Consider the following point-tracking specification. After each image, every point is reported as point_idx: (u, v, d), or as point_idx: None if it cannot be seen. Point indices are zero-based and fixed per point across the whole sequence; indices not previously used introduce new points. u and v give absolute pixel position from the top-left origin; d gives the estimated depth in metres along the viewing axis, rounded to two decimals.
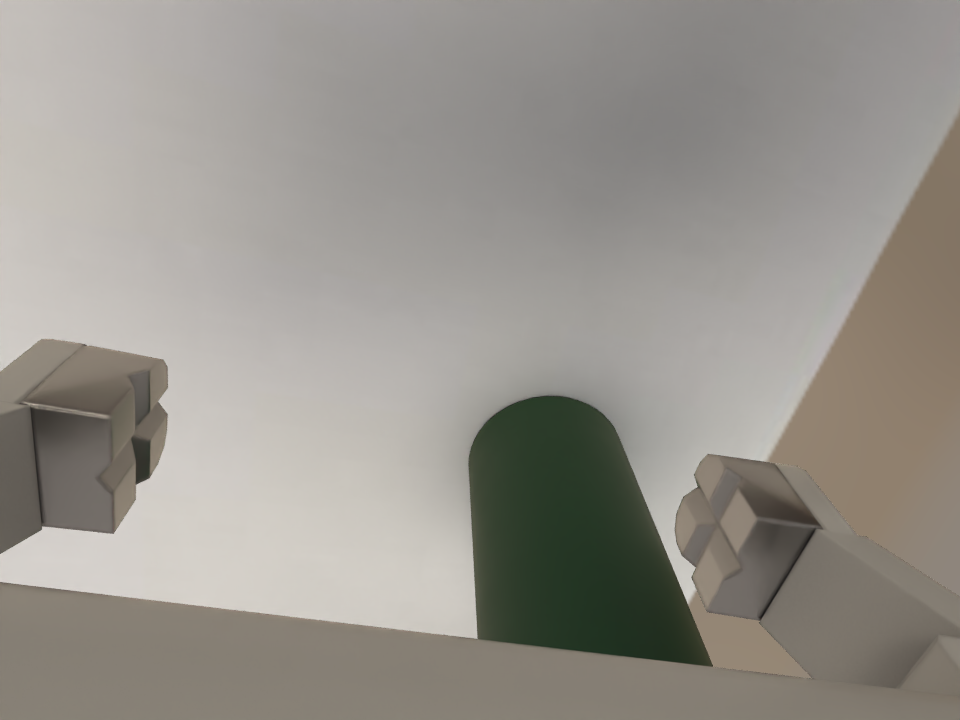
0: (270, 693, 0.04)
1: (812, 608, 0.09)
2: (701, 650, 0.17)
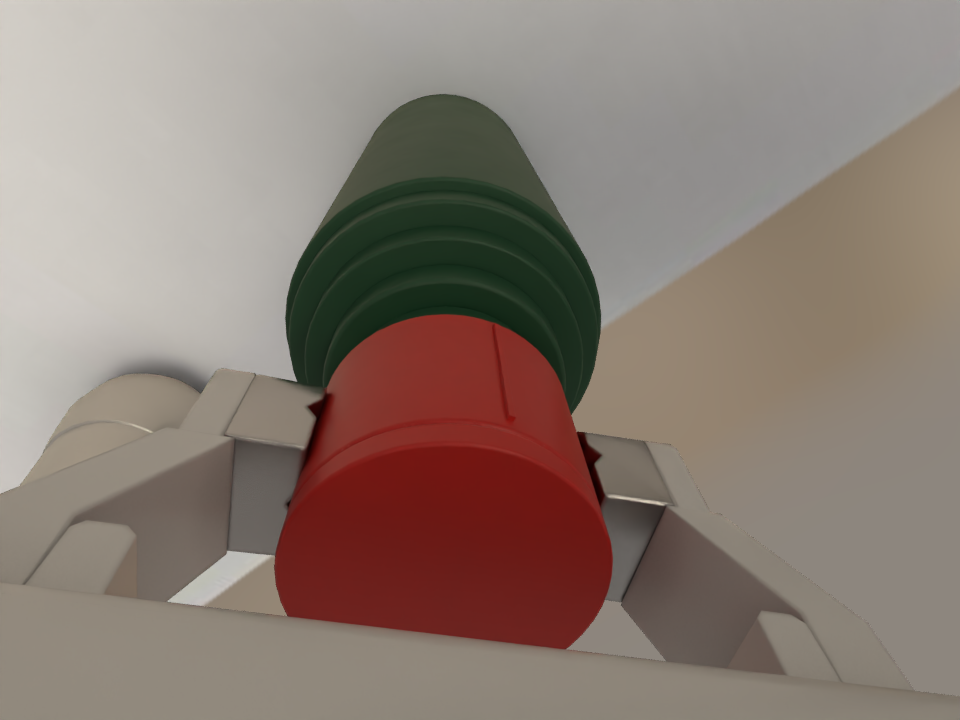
0: (270, 693, 0.04)
1: (665, 588, 0.08)
2: None
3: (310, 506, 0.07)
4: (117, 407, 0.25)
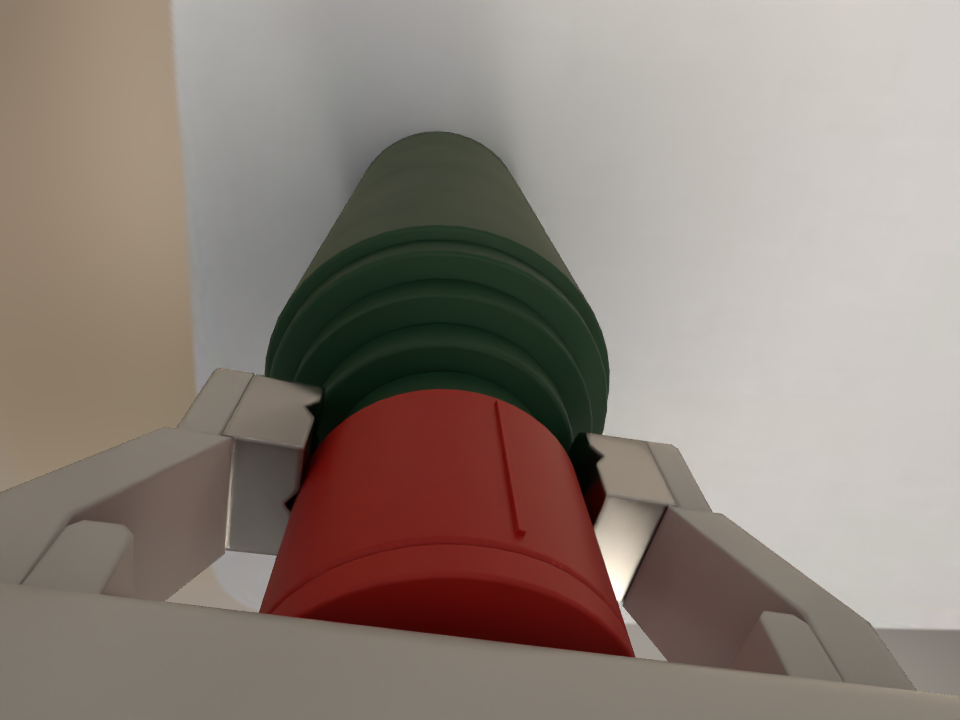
0: (270, 693, 0.04)
1: (666, 588, 0.08)
2: None
3: None
4: None
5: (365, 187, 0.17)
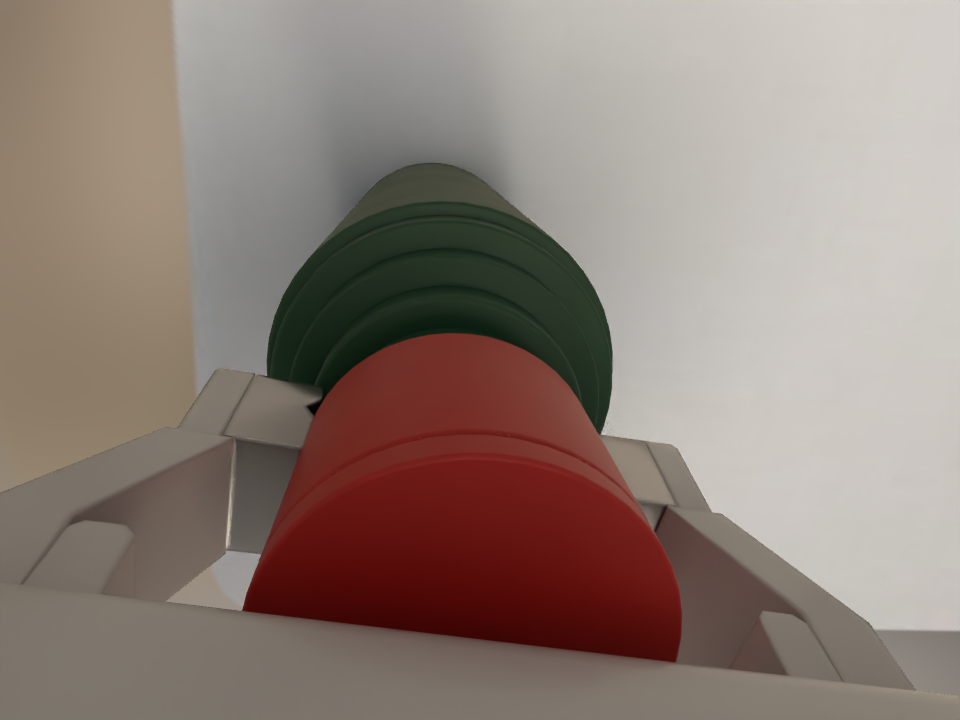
0: (270, 693, 0.04)
1: None
2: None
3: None
4: None
5: (364, 199, 0.17)
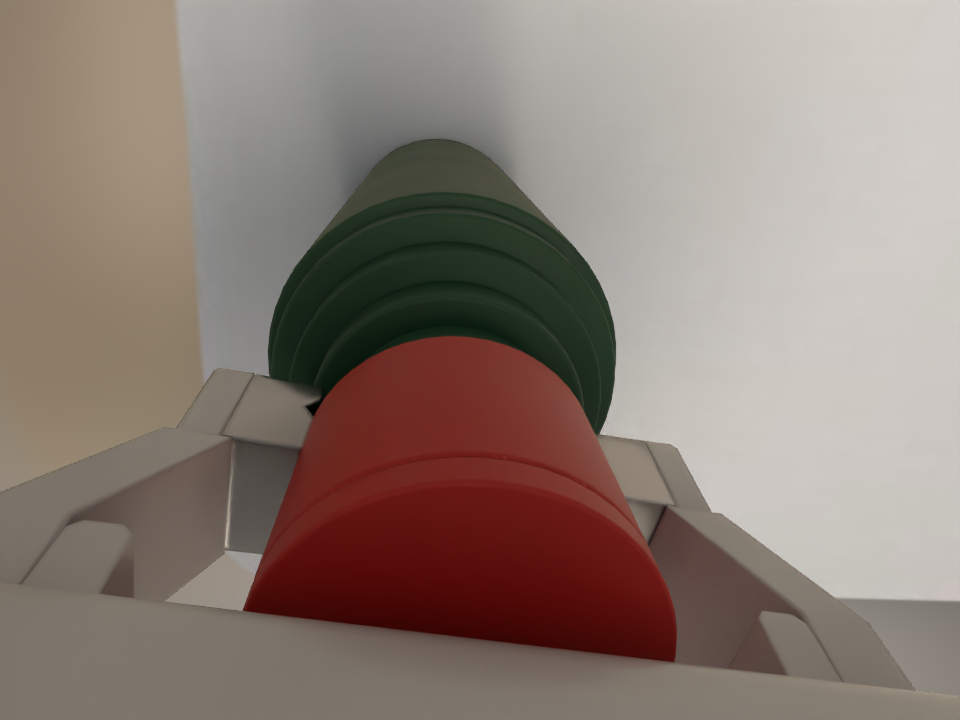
0: (270, 693, 0.04)
1: None
2: None
3: None
4: None
5: (367, 181, 0.17)
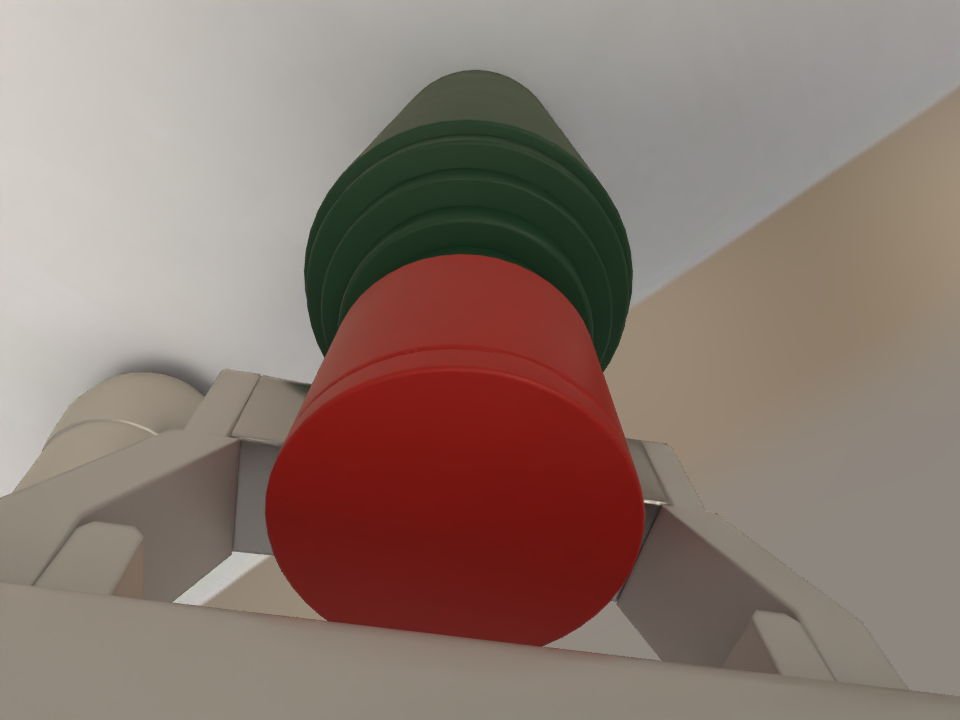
0: (270, 693, 0.04)
1: (660, 587, 0.08)
2: None
3: (577, 417, 0.06)
4: (116, 405, 0.25)
5: None
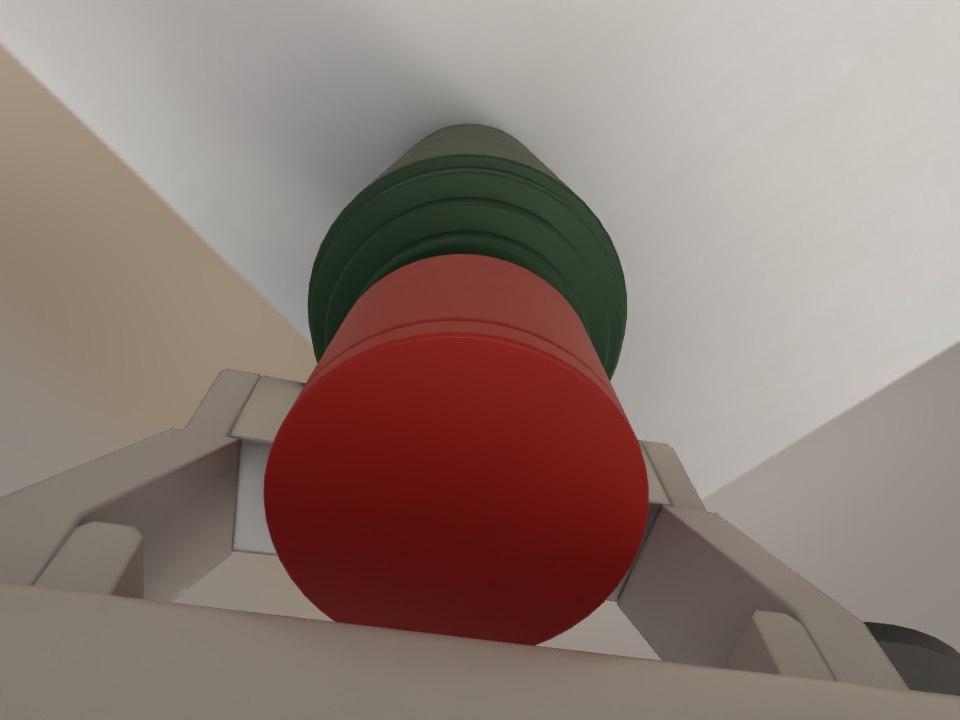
0: (270, 693, 0.04)
1: (661, 587, 0.08)
2: None
3: (577, 383, 0.06)
4: None
5: None
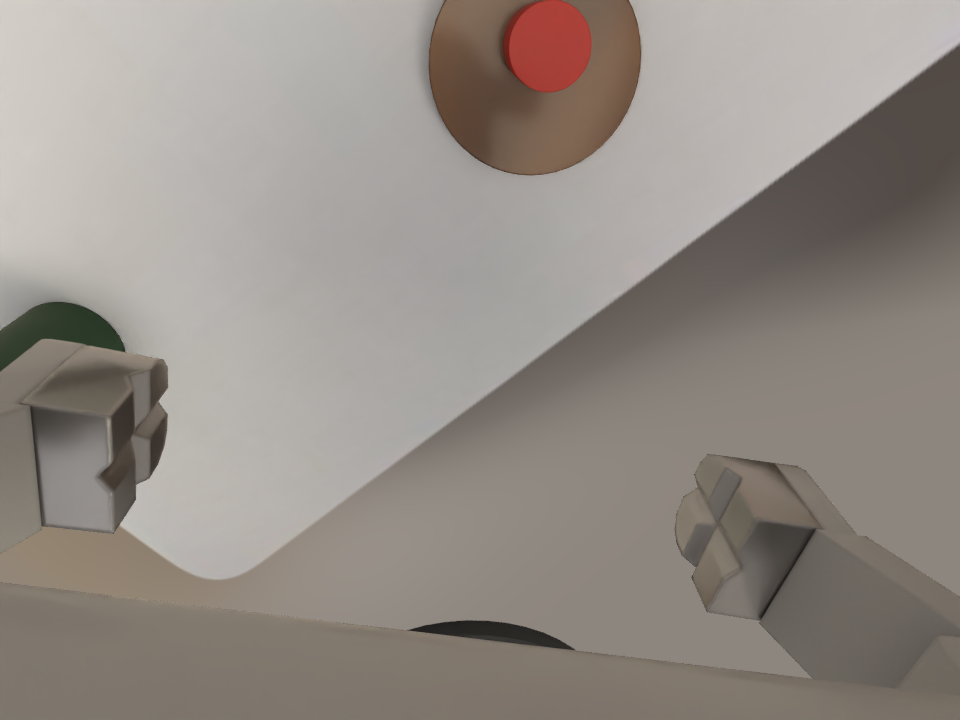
0: (270, 693, 0.04)
1: (812, 608, 0.09)
2: None
3: (576, 12, 0.30)
4: None
5: None
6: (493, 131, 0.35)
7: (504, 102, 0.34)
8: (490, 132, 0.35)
